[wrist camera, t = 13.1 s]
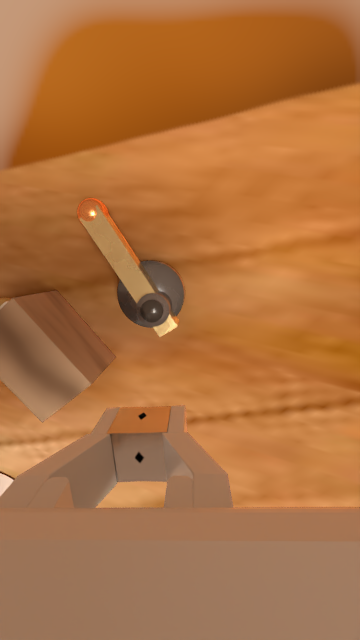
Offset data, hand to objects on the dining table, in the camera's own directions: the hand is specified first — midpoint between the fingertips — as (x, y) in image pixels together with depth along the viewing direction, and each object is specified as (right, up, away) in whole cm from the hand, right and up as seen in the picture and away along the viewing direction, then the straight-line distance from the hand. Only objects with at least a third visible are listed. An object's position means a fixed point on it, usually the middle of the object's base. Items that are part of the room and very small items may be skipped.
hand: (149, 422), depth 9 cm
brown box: (-15, +1, +25) cm, 29 cm away
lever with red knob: (-4, +11, +21) cm, 24 cm away
